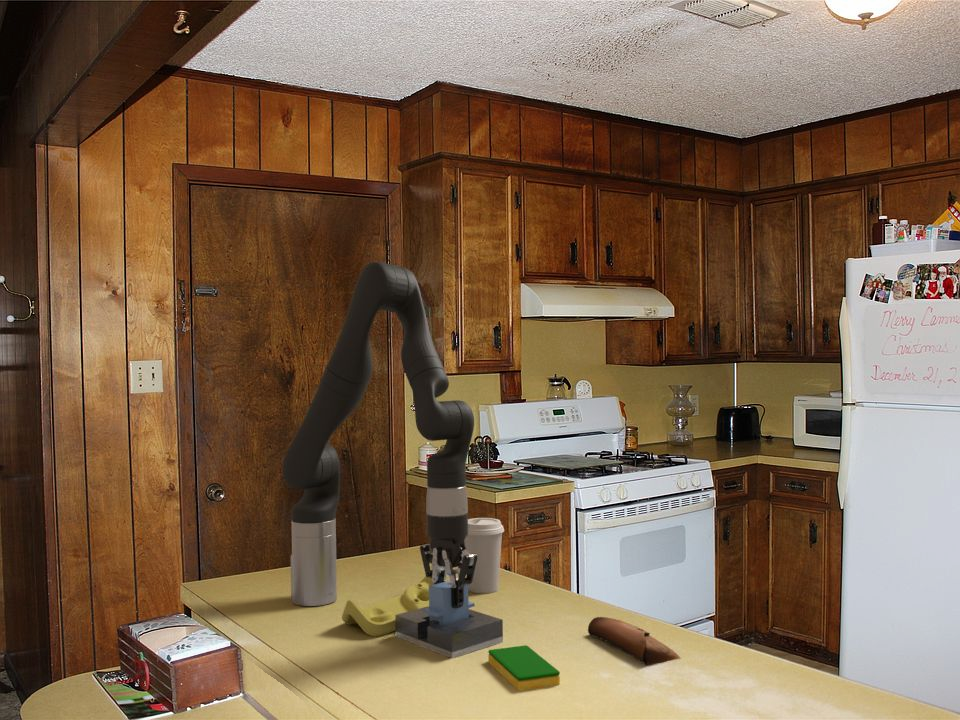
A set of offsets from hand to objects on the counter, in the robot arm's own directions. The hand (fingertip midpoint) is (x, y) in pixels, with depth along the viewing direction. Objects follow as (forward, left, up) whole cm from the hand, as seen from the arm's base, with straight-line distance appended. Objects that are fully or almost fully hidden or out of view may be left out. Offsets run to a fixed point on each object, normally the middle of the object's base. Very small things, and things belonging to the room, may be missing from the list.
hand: (448, 604), depth 160 cm
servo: (0, 0, -4) cm, 4 cm away
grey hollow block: (0, 0, -6) cm, 6 cm away
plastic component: (-15, 0, -7) cm, 16 cm away
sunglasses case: (+26, +21, -7) cm, 34 cm away
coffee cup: (-20, +27, -7) cm, 34 cm away
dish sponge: (+21, -2, -7) cm, 22 cm away
